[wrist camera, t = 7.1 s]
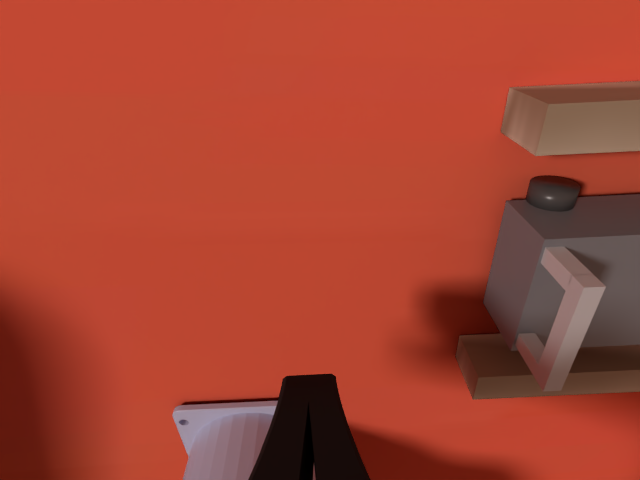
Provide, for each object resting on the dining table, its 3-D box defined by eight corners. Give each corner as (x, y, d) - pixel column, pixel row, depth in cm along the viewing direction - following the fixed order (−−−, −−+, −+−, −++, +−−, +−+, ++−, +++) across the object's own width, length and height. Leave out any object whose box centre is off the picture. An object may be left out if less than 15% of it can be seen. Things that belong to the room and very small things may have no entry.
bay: (680, 346, 20) (725, 387, 18) (455, 356, 20) (472, 399, 18) (853, 70, 13) (959, 84, 11) (509, 87, 13) (548, 104, 11)
